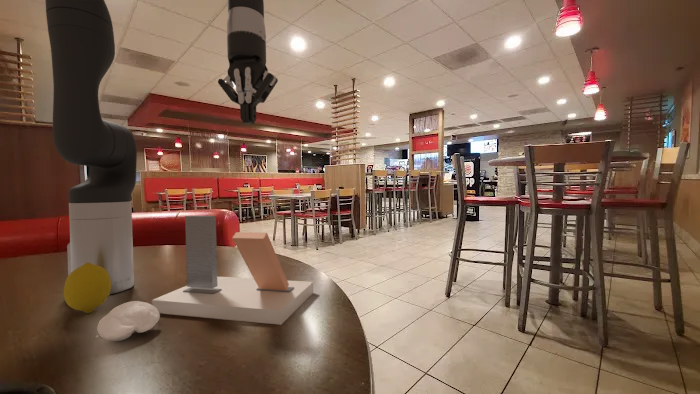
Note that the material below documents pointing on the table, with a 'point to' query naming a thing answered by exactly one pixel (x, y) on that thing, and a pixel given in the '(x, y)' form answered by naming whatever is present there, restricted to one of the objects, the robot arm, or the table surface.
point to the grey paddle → (201, 251)
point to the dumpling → (127, 320)
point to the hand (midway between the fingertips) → (248, 123)
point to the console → (236, 301)
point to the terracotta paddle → (261, 260)
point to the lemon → (87, 287)
